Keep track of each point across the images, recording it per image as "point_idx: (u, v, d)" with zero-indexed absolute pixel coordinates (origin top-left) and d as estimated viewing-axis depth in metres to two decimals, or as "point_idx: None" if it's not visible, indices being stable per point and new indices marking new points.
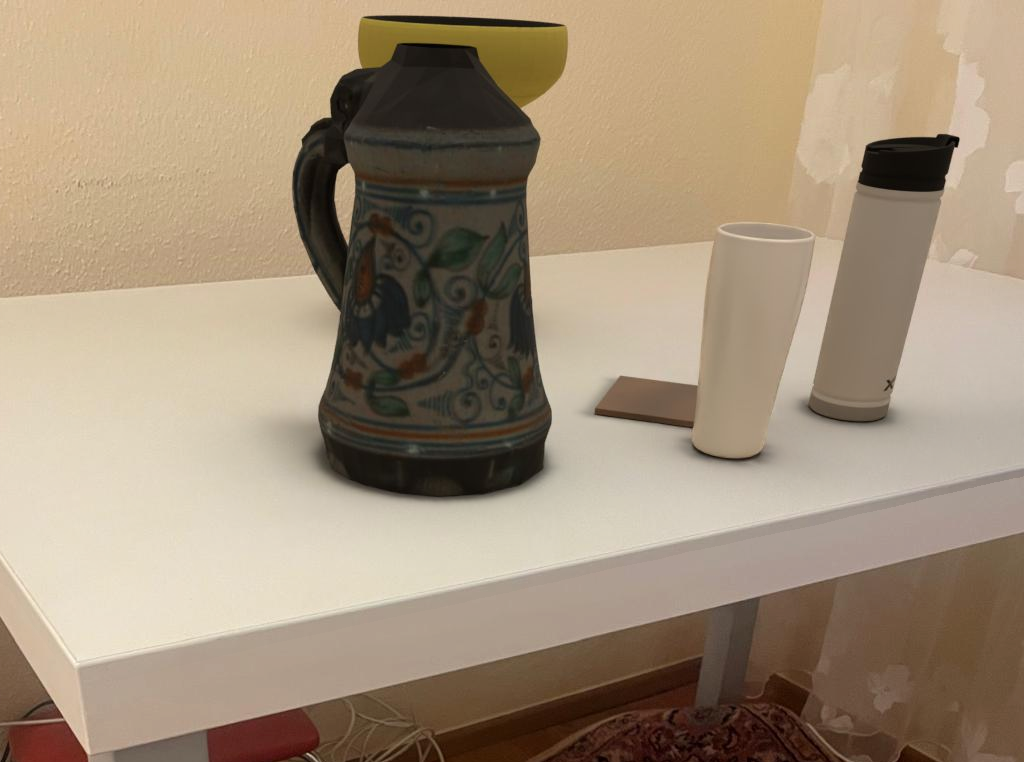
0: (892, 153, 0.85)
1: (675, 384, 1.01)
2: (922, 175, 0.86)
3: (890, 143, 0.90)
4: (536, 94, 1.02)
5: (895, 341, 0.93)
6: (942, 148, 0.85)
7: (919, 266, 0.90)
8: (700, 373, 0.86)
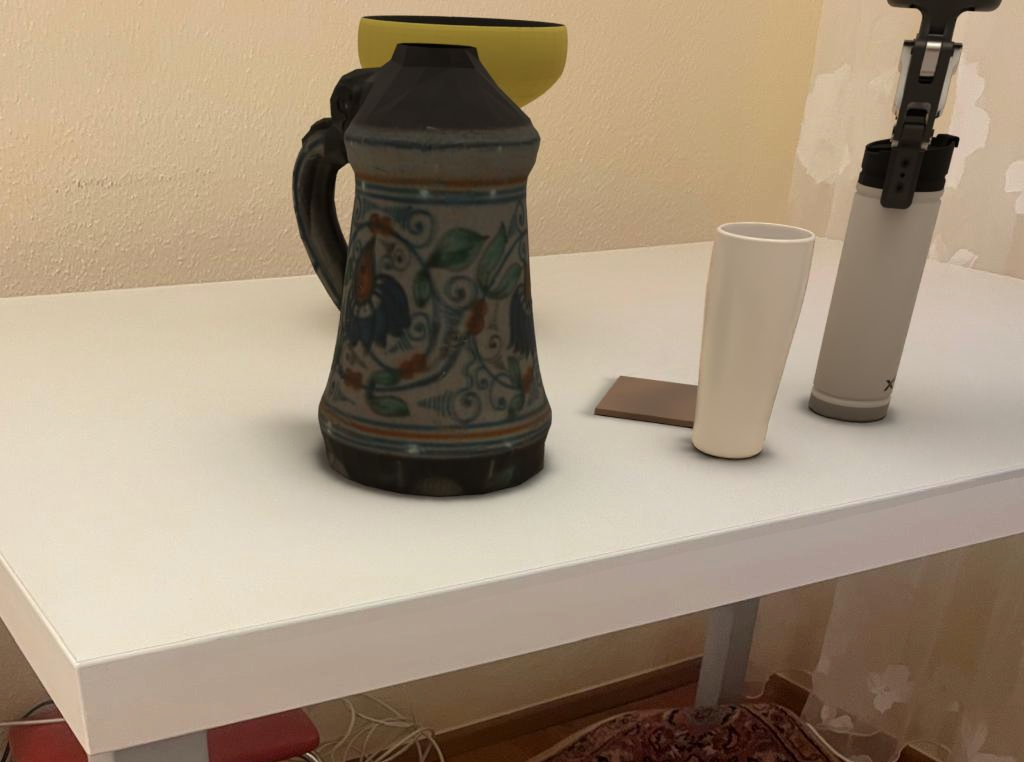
0: None
1: (675, 384, 1.01)
2: (922, 175, 0.86)
3: (890, 143, 0.89)
4: (536, 94, 1.02)
5: (895, 341, 0.93)
6: (942, 148, 0.85)
7: (919, 266, 0.90)
8: (700, 373, 0.86)
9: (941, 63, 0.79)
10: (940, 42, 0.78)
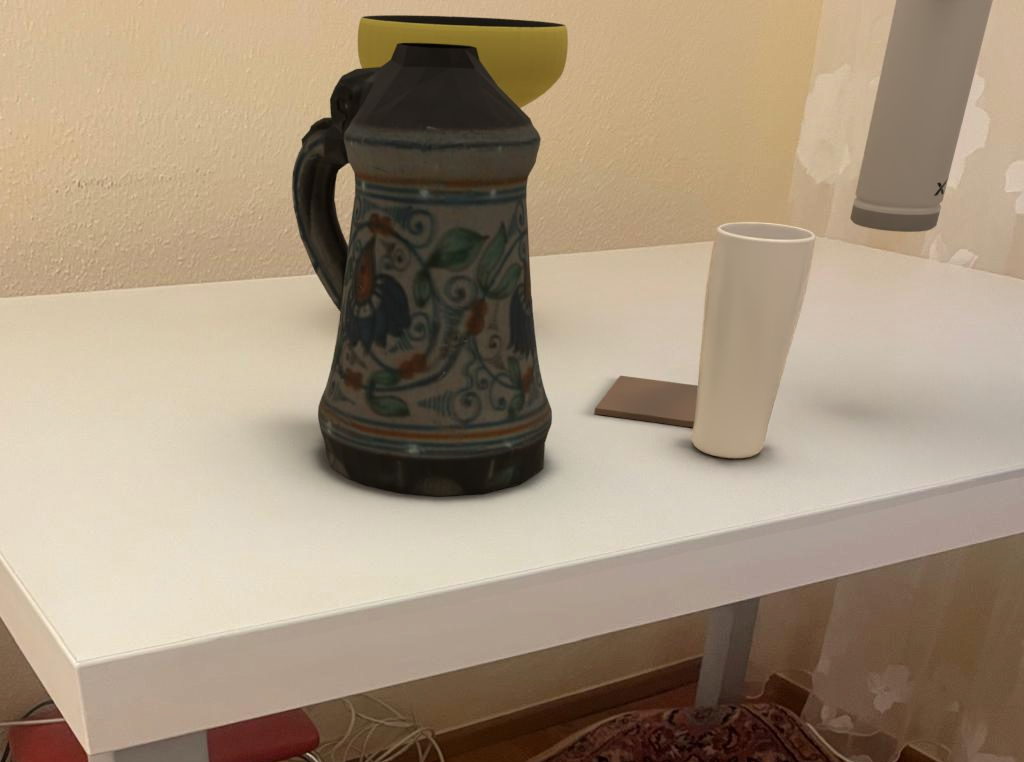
0: None
1: (675, 384, 1.01)
2: None
3: None
4: (536, 94, 1.02)
5: (948, 135, 0.84)
6: None
7: (975, 46, 0.82)
8: (700, 373, 0.86)
9: None
10: None
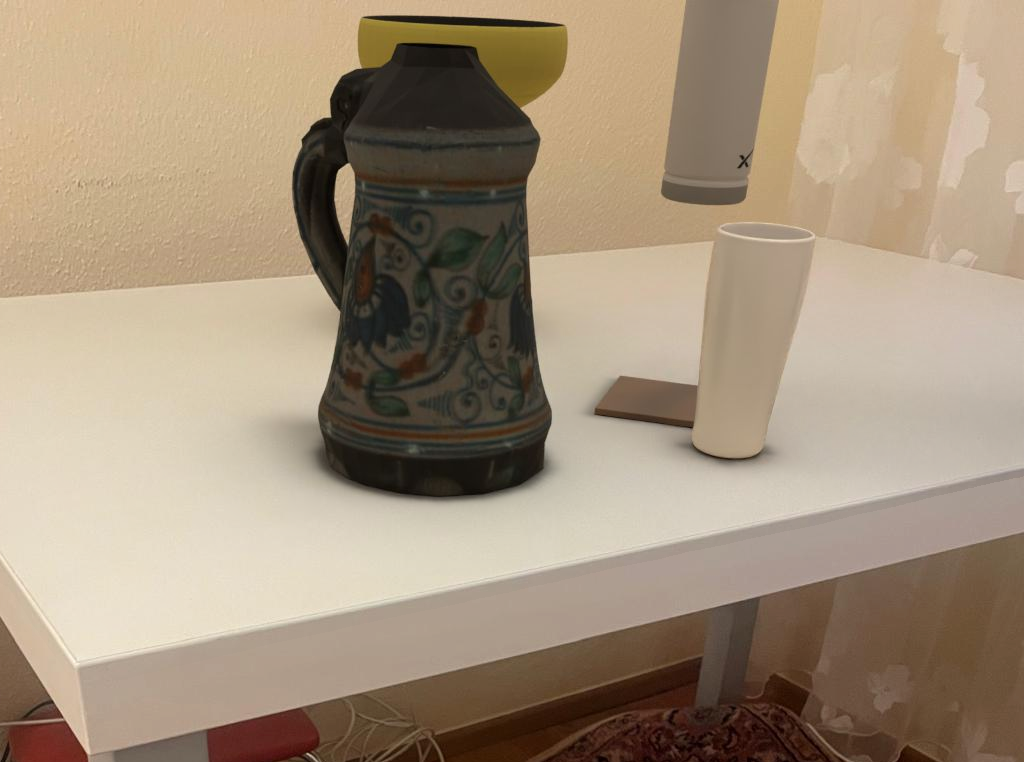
0: None
1: (675, 384, 1.01)
2: None
3: None
4: (536, 94, 1.02)
5: (746, 106, 0.83)
6: None
7: (767, 15, 0.81)
8: (700, 373, 0.86)
9: None
10: None
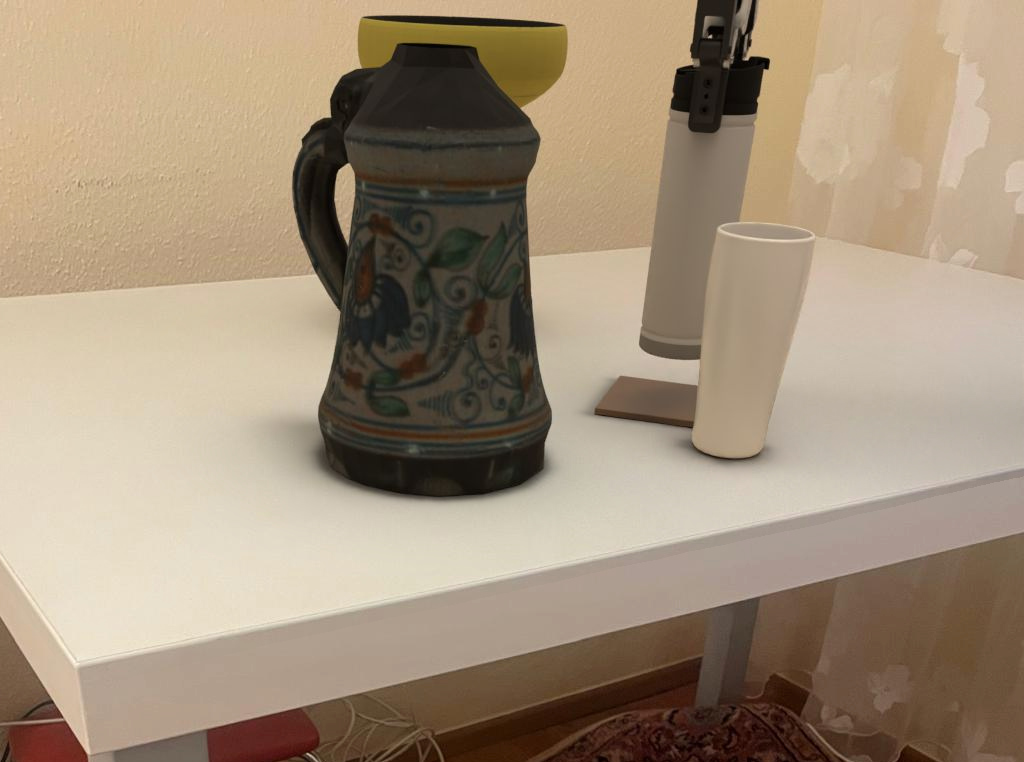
0: None
1: (675, 384, 1.01)
2: (728, 97, 0.83)
3: None
4: (536, 94, 1.02)
5: None
6: (748, 69, 0.82)
7: (735, 195, 0.87)
8: (700, 373, 0.86)
9: None
10: None
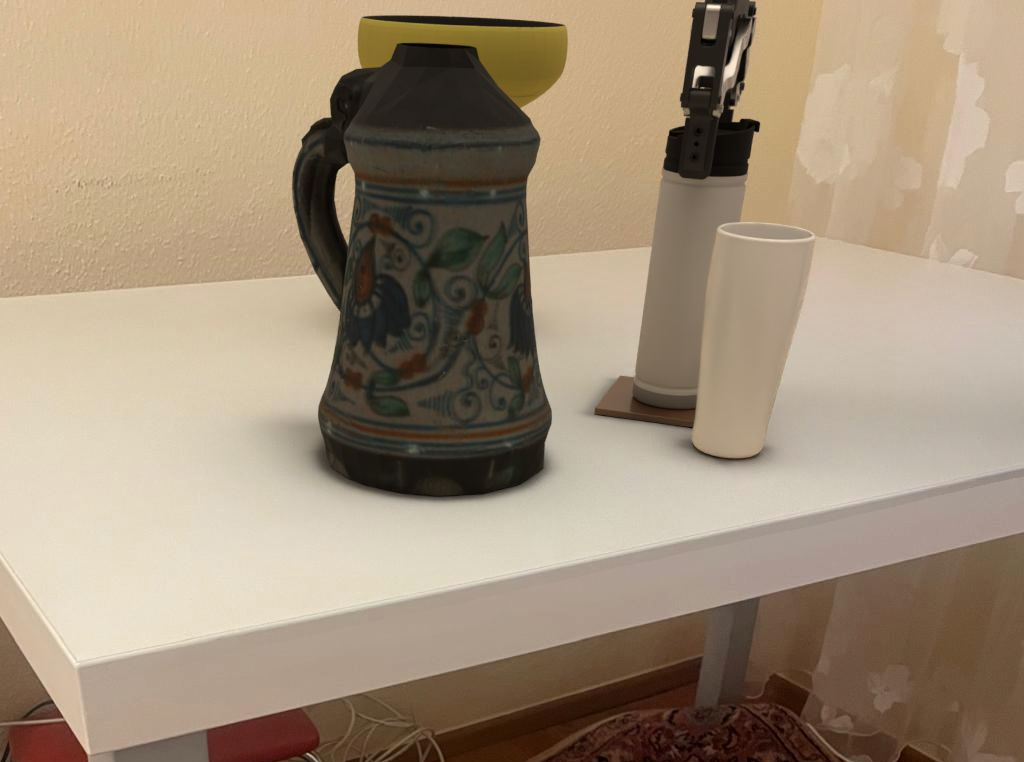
0: None
1: None
2: (719, 159, 0.85)
3: None
4: (536, 94, 1.02)
5: None
6: (738, 132, 0.84)
7: None
8: (700, 373, 0.86)
9: (722, 24, 0.77)
10: (720, 3, 0.77)
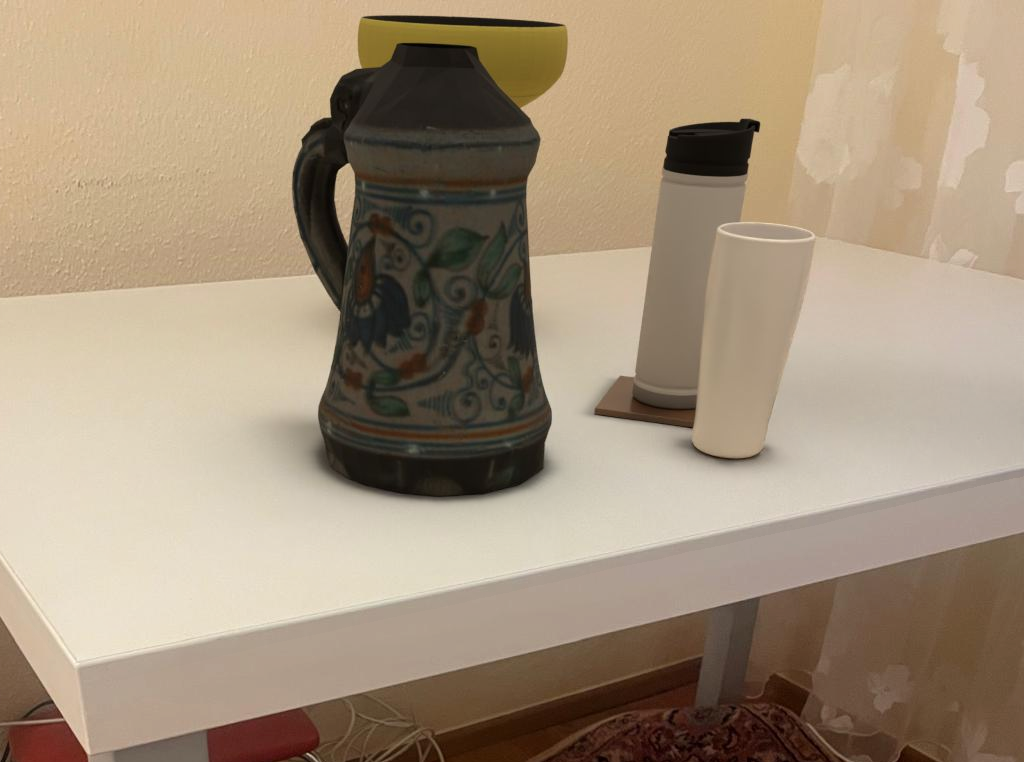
0: (689, 137, 0.85)
1: None
2: (719, 159, 0.85)
3: (696, 128, 0.89)
4: (536, 94, 1.02)
5: None
6: (738, 132, 0.84)
7: None
8: (700, 373, 0.86)
9: None
10: None
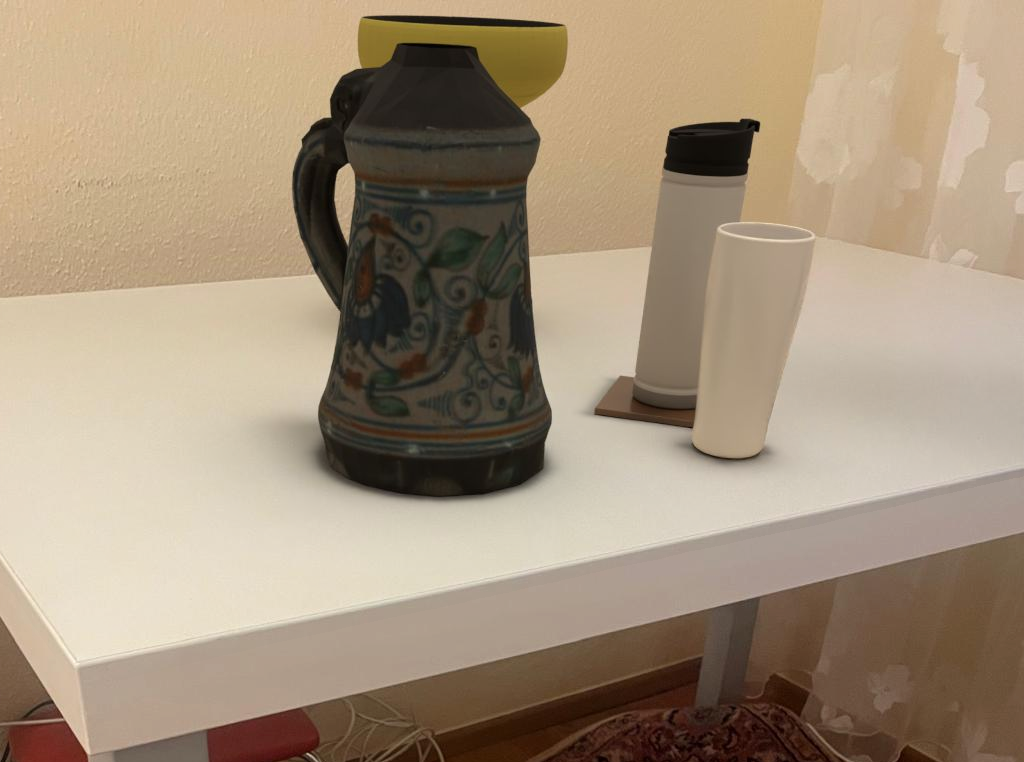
0: (689, 137, 0.85)
1: None
2: (719, 159, 0.85)
3: (696, 128, 0.89)
4: (536, 94, 1.02)
5: None
6: (738, 132, 0.84)
7: None
8: (700, 373, 0.86)
9: None
10: None
